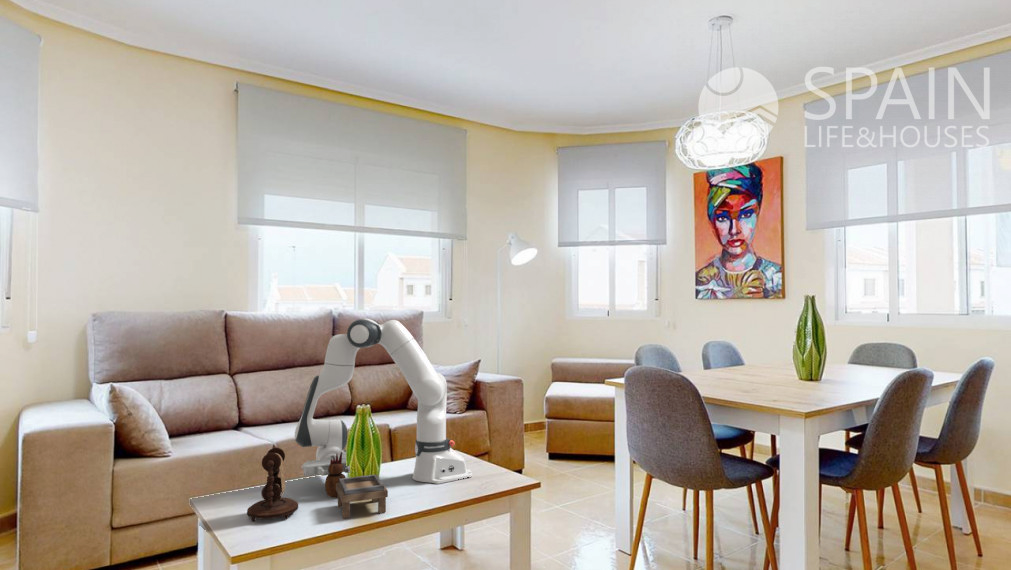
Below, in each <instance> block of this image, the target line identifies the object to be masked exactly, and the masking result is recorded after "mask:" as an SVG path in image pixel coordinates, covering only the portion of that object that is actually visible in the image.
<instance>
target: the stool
mask: <svg viewBox="0 0 1011 570" xmlns="http://www.w3.org/2000/svg"><path fill="white" fill-rule="evenodd" d="M336 491H337V493H338V498H337V508H341V510H342V512H341V516H342V517H343V518H342V517H341V518H342V519H343V520H347V519H350V518H351V503H352V502H353V503H354V502H359V501H367V500H368V501H369V500H371V503H372V504H373V503H377V512H378V514H379V513H381V514H386V513H385V512H386V511H387V508H386V506H387V505H386V504H387V500H386V499H387V498H388V497H389V491H388V489H387V488H386V486H385V484H384V483H383V481H382V480H381V479H380V477H379V476H378V474H370V475H361V476H353V477H346V478H343V479H339V483H336ZM346 518H347V519H346Z"/></svg>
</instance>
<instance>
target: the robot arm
mask: <svg viewBox="0 0 1011 570" xmlns="http://www.w3.org/2000/svg"><path fill="white" fill-rule="evenodd" d="M346 331H347V332H346V333H345V334H343V333H342V334H341V333H339V334H335V335H333V336H332V337H331V338H330V340H329V343H327V347H326V353H325V357H324V365H323V368H322V370H321V372H320V373H319V374H318V375H316V376H314V377H313V380H312V381H311V383H310V387H309V388H308V389H309V390H308V392H307V395H306V398H305V402H304V404H303V405H304V406H303V409H302V412H301V414H300V417H299V418H300V419H299V421H298V423H297V425H296V428H295V431H294V441H295V442H296V443H297V444H298V446H300V447H301V448H309V447H317V449H316V453H315V457H316V458H315V459H314V460H313V459H311V460H307V461H305V462H304V463H303V464H301V469H302V470H303V476H304V477H312V476H322V477H323V476H328V475H329V472H328V467H329V465H330V462H331V459H332V461H333V457H334V458H335V461H336V454H337V455H338V460H339V457H340V454H341V452H342V465H343V472H342V473H345V474H349V473H350V472H351V471H350V465H349V466H346V449H345V448H346V446H347V443H348V436H349V434H348V426H347V425H346V424H345V422H344V421H343V420H342V419H315V418H313V417H314V414H315V411H316V407H317V404H318V401H319V399H320V397H321V396H322V395H324V394H325V393H328V392H330V391H333V390H337V389H339V388H342V387H344V386H346V385H347V384H348V383H350V381H351V380H352V379H353V376H354V371H355V366H356V364H355V363H356V357H357V353H358V351H359V350H360V349H364V348H365V349H366V348H367V349H368V348H371V347H373V346H375V345H378V344H379V345H381V346H382V348H384V349H385V350H386V352H387V353H388V354H389V356H390V358H391V359H392V361H393V362H394V363H395V364H396V366H397V368H398V369H399V370H400V372H401V373H402V375H403V376H404V379H405V381H406V382H407V385H409V387H410V389H411V391H412V392H413V394H414V396H415V397H416V399H417V412H416V413H417V414H416V439H415V444H414V445H415V446H414V452H415V462H414V463H415V464H414V469H413V474H412V480H414V481H417V482H422V483H430V484H431V483H432V484H438V485H439V484H443V483H449V482H454V481H458V479H459V480H463V478H464V479H468V478H467V477H469V478H471V476H473V472H472V470H471V469H470V468H467V464H466V460H465V458H464V457H463V456H462V455H461V454H460V453H458V452H457V451H455V450H454V449H453V448H452V447H454V446H455V444H456V443H455V441H454V440H451V439H450V438H447V401H448V399H447V398H448V397H447V396H448V394H447V393H448V384H447V383H448V382H447V380H446V377H445V376H444V375H443V374H442V373H440V372H437V371H436V370H435V369H434V367H433V365H432V363H431V361H430V360H429V358H428V356H427V354H426V353H425V352H424V351H423V349H422V348H421V346H420V345H419V343H418V342H417V340H416V339H415V338H414V336H413V335H412V334H411V332H410V331H409V330H408V329H407V327H405V325H403V324H402V323H401V322H400V321H398V320H397V319H390V320H387V321H385V322H383V323H382V324H380V323H379V322H378V321H377V320H375V319H372V318H368V317H367V318H365V317H364V318H360V319H357V320H356V319H355V320H354V321H352V322H351V323H350V325H348V328H347V330H346Z"/></svg>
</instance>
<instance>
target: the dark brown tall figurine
mask: <svg viewBox="0 0 1011 570" xmlns="http://www.w3.org/2000/svg"><path fill="white" fill-rule="evenodd" d="M285 458H286V453H285V451H284V450H283V449H282V448H280V447H272V448H270V449H269V450H268V451H267V453H266V454H265V455H264V456H263V457H262V459H261V466H262V468H263V470H265V471H266V472H267V476H266V484H265V485H264V486H263V488H262V489H261V494H260V495H261V497H262V500H259V501H256V502H255V503H253V504H252V505H250V506H249V507H248V508H247V512H246V513H247V516H248V517H249V518H251V521H252V523H255V521H256V520H270V519H278V518H281V517H284V519H285V520H288V519H289V515H291V514H293V513H295V512H297V511H298V509H299V502H298V501H297V500H295V499H293V498H289V497H282V496H283V495H284V493H285V491H286V478H285V473H284V462H285V461H284V460H285ZM279 473H280V477H279Z"/></svg>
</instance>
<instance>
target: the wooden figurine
mask: <svg viewBox="0 0 1011 570" xmlns="http://www.w3.org/2000/svg"><path fill="white" fill-rule="evenodd" d="M328 472H329V475H326V478H325V482H324V490H325V493H326V496H328V497H329V498H332V499H336V498H337V499H338V493H337V491H336V483H339V479H343V478H347V477H346V476H345V474H343V473H344V472H343V465H342V452H341V454H340V457H339V460H338V455H337V454H336V461H335V458H334V457H333V461H332V459H331V462H330V465H329V467H328Z"/></svg>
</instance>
